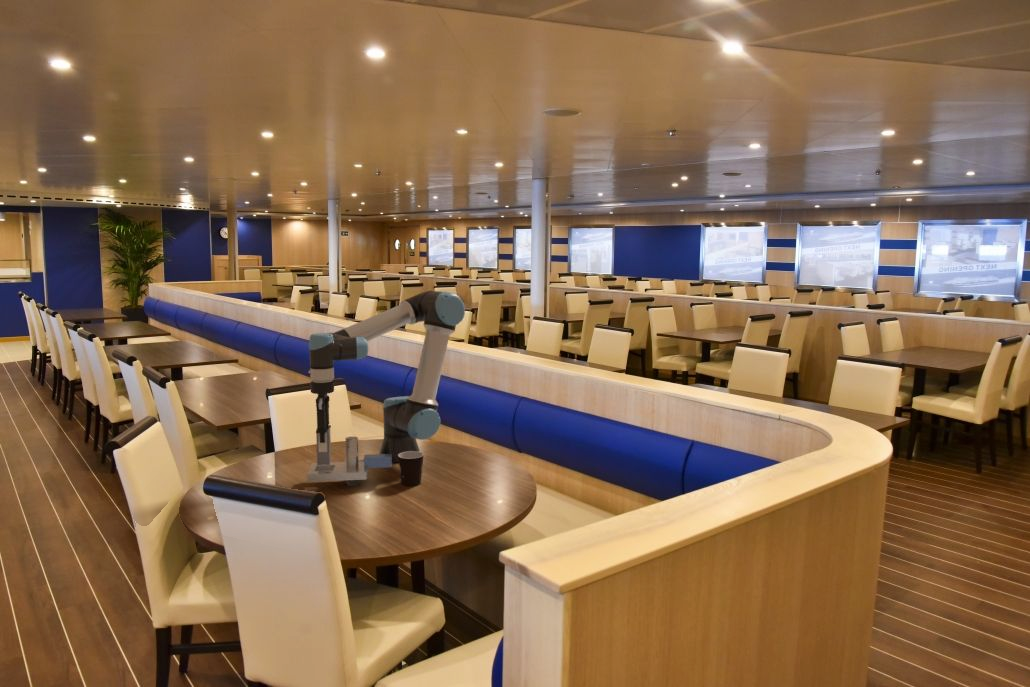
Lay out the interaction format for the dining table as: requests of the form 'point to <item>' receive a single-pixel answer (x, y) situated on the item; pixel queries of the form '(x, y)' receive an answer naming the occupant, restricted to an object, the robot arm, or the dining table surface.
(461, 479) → the dining table surface
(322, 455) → the steel pin
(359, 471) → the grey fixture base
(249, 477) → the dining table surface
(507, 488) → the dining table surface
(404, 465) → the coffee mug
